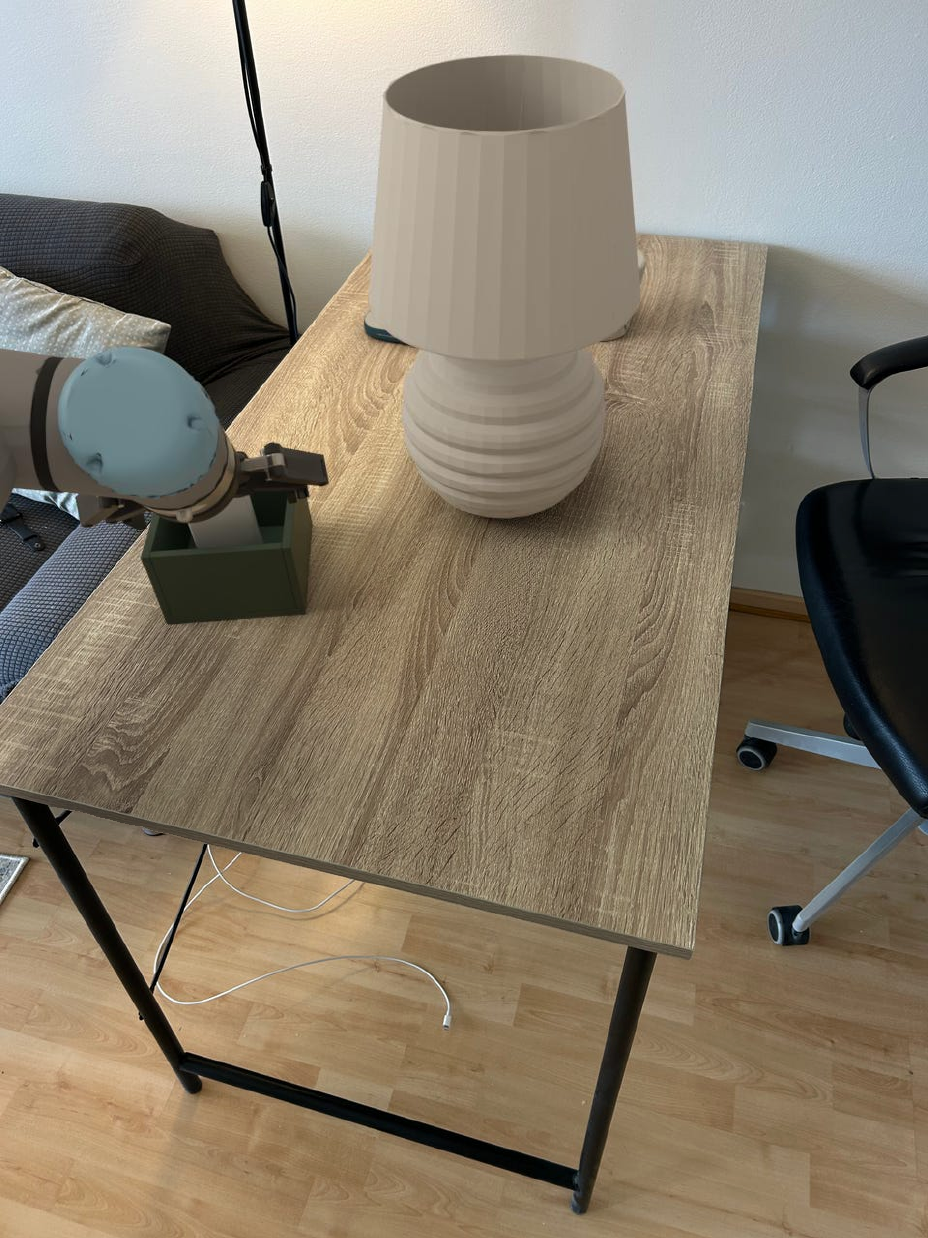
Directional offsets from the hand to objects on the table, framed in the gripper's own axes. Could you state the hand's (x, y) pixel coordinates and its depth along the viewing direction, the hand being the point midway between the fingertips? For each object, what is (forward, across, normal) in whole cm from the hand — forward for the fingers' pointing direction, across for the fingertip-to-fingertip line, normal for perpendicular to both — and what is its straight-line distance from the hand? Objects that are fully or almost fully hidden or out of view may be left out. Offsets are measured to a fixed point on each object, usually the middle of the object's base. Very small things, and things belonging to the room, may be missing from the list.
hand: (216, 501), depth 82 cm
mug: (+37, +51, +20) cm, 66 cm away
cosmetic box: (+10, 0, -6) cm, 12 cm away
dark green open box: (+10, 0, -6) cm, 12 cm away
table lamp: (+15, +30, -2) cm, 33 cm away
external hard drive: (+46, +31, +29) cm, 62 cm away
